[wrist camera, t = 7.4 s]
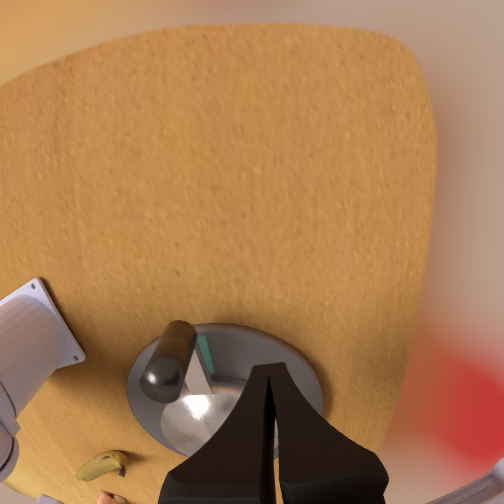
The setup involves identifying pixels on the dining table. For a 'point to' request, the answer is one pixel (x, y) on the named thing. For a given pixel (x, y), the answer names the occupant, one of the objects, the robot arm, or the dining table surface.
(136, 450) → the dining table surface
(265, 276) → the dining table surface
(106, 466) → the banana
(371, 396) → the dining table surface
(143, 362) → the dial base
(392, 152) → the dining table surface
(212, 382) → the dial
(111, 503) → the grandmother figurine
